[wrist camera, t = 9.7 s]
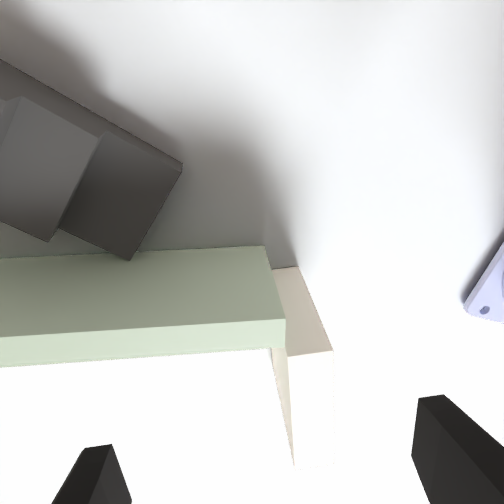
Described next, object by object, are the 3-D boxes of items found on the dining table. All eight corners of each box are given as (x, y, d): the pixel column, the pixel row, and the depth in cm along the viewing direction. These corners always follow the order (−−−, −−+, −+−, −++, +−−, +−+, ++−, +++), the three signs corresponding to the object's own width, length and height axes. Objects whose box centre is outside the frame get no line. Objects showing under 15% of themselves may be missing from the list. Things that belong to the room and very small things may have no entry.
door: (264, 245, 19) (285, 318, 14) (263, 282, 20) (284, 363, 15) (-61, 261, 18) (-160, 347, 13) (-46, 299, 19) (-134, 394, 14)
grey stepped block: (-58, 152, 16) (-130, 185, 13) (-21, 44, 15) (-91, 48, 11) (134, 245, 19) (119, 294, 15) (182, 161, 18) (178, 194, 14)
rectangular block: (302, 363, 23) (333, 463, 17) (273, 367, 23) (295, 469, 17) (261, -562, 10) (332, -1263, 5) (192, -560, 10) (181, -1270, 4)
